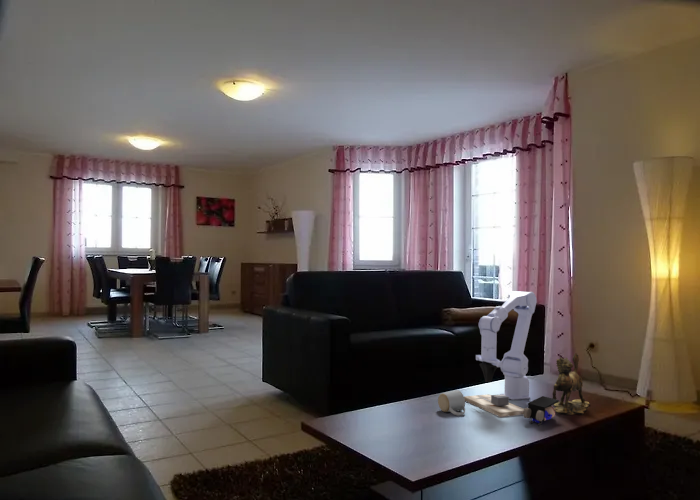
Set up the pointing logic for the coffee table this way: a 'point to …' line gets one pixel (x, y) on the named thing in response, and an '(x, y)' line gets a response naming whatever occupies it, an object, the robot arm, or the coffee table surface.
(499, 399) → the fader tab
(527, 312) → the robot arm
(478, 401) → the fader console
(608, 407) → the coffee table surface
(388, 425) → the coffee table surface
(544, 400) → the figurine character
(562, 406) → the figurine
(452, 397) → the ceramic mug
